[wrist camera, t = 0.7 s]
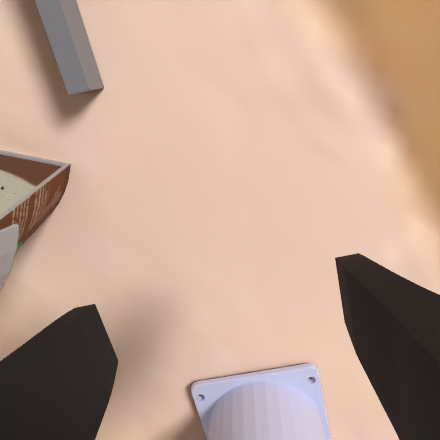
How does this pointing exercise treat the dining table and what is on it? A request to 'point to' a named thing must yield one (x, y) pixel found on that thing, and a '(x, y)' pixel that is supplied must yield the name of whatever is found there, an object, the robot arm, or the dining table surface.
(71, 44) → the grey piece
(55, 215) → the dining table surface
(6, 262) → the food container
